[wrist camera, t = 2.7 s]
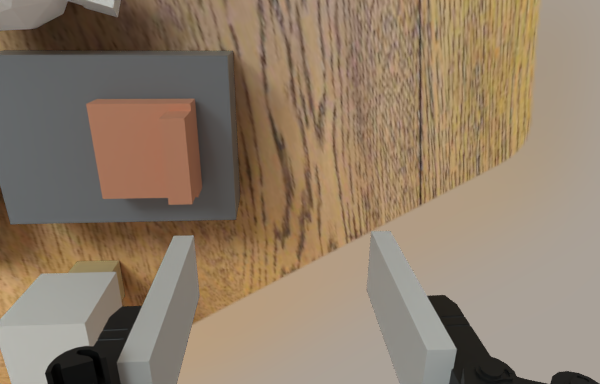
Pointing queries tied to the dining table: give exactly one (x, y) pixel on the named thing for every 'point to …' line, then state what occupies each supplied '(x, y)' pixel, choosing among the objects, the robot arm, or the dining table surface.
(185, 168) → the orange l-shaped block
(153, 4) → the dining table surface
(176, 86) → the socket board
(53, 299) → the plug
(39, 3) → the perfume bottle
